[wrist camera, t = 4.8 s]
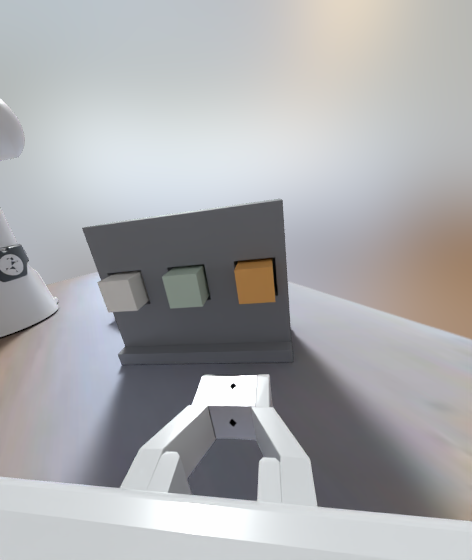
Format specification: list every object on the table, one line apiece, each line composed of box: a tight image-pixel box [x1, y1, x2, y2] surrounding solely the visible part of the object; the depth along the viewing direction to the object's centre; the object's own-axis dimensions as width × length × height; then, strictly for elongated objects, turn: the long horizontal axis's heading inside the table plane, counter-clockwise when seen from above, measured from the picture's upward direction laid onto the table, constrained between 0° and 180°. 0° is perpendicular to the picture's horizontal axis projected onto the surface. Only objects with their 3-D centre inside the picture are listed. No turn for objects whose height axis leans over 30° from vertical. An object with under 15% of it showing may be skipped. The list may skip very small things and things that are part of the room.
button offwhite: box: [97, 270, 149, 312], centre depth 24 cm, size 3×3×3 cm
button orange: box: [234, 258, 275, 304], centre depth 22 cm, size 3×3×3 cm
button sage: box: [162, 264, 210, 309], centre depth 23 cm, size 3×3×3 cm
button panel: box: [82, 199, 293, 365], centre depth 26 cm, size 20×7×16 cm, turn 82°
